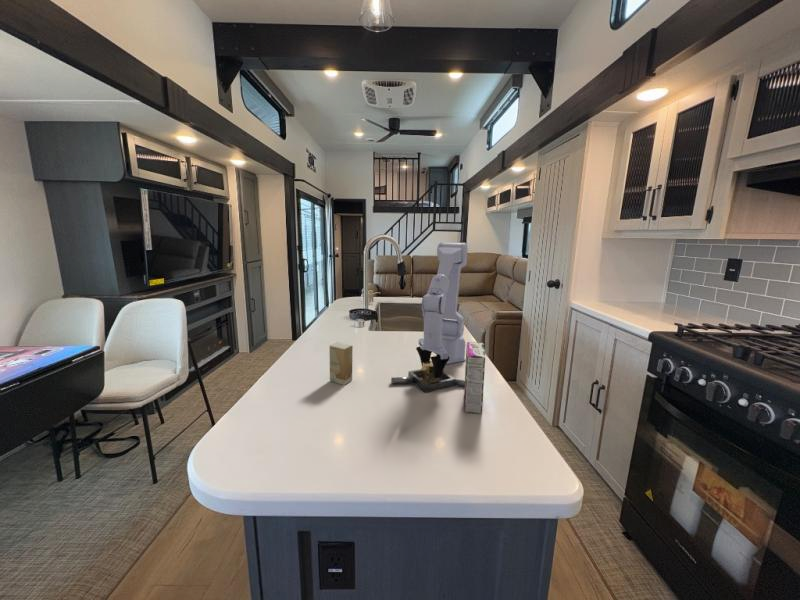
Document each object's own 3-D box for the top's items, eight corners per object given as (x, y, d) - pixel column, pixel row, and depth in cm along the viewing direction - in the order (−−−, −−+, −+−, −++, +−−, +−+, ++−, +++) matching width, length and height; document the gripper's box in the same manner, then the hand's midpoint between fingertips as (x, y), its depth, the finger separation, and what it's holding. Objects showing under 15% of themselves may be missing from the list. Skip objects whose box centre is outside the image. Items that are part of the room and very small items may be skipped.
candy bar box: (463, 392, 97) (466, 341, 93) (480, 394, 96) (484, 342, 92) (463, 412, 86) (466, 355, 83) (482, 415, 85) (486, 356, 82)
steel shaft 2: (453, 386, 101) (453, 380, 100) (453, 383, 102) (454, 378, 102) (476, 389, 99) (476, 383, 98) (476, 386, 101) (476, 380, 100)
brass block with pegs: (435, 376, 106) (436, 359, 105) (442, 381, 103) (443, 364, 101) (418, 380, 103) (419, 362, 102) (425, 385, 100) (425, 367, 99)
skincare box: (329, 381, 103) (328, 345, 101) (337, 376, 107) (336, 341, 105) (345, 385, 100) (344, 348, 98) (353, 380, 104) (352, 344, 102)
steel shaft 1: (412, 381, 104) (412, 375, 103) (413, 384, 102) (413, 378, 101) (391, 382, 103) (391, 376, 103) (391, 385, 101) (391, 379, 101)
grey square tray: (436, 372, 110) (436, 365, 110) (455, 386, 101) (455, 378, 100) (408, 378, 106) (408, 371, 105) (424, 393, 96) (425, 385, 96)
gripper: (410, 327, 104) (410, 366, 107) (434, 340, 92) (432, 384, 94) (429, 324, 107) (428, 362, 110) (454, 337, 95) (452, 379, 97)
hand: (431, 372), depth 103 cm, fingers open, 7 cm apart
